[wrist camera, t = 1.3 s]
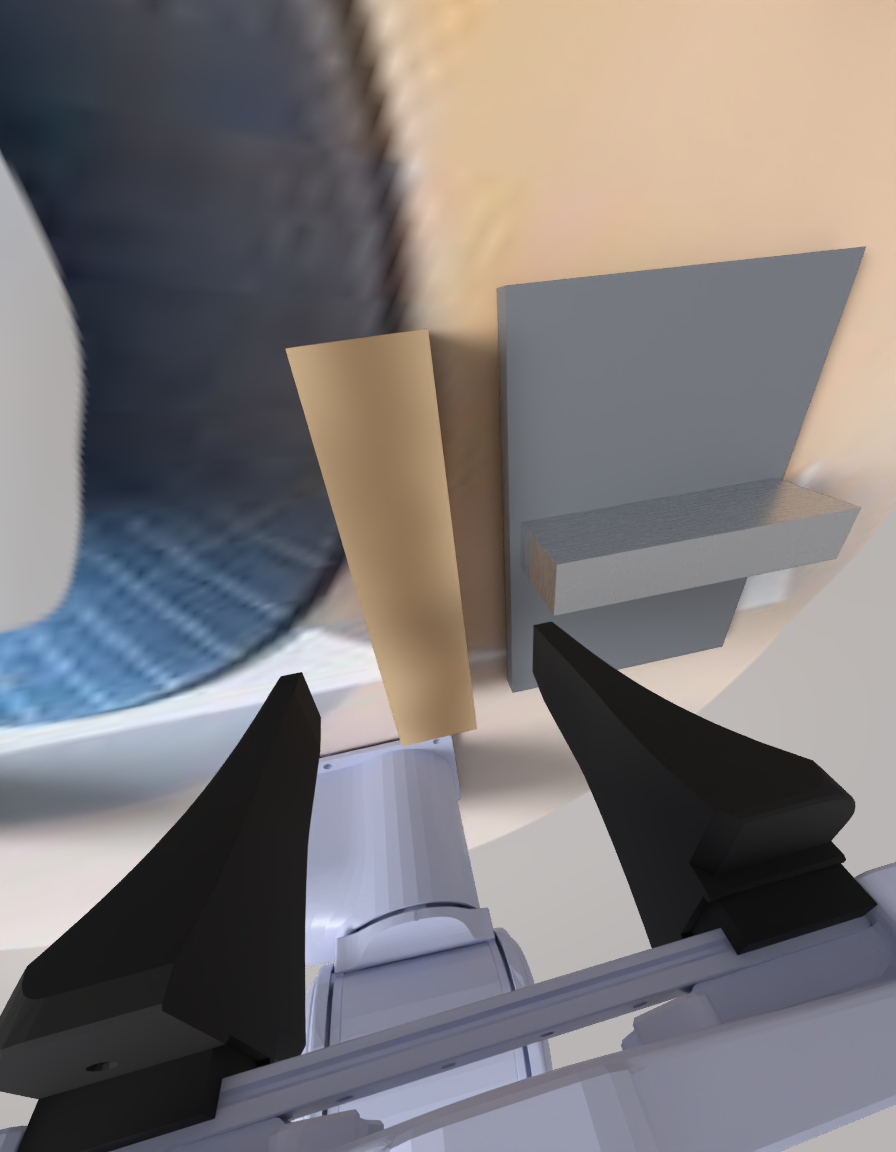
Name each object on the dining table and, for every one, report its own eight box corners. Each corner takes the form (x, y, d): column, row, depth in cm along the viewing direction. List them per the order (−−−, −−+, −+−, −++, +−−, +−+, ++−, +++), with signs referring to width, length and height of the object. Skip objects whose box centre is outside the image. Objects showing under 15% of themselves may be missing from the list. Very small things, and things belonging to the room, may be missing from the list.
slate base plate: (507, 680, 25) (512, 692, 24) (496, 288, 14) (505, 285, 13) (710, 636, 26) (722, 646, 25) (839, 251, 16) (866, 246, 15)
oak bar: (396, 688, 24) (401, 746, 20) (303, 345, 14) (285, 349, 11) (460, 674, 24) (476, 728, 21) (412, 330, 15) (428, 329, 11)
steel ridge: (520, 566, 19) (553, 615, 16) (520, 522, 18) (556, 564, 15) (758, 522, 21) (836, 558, 17) (774, 477, 19) (861, 507, 16)
